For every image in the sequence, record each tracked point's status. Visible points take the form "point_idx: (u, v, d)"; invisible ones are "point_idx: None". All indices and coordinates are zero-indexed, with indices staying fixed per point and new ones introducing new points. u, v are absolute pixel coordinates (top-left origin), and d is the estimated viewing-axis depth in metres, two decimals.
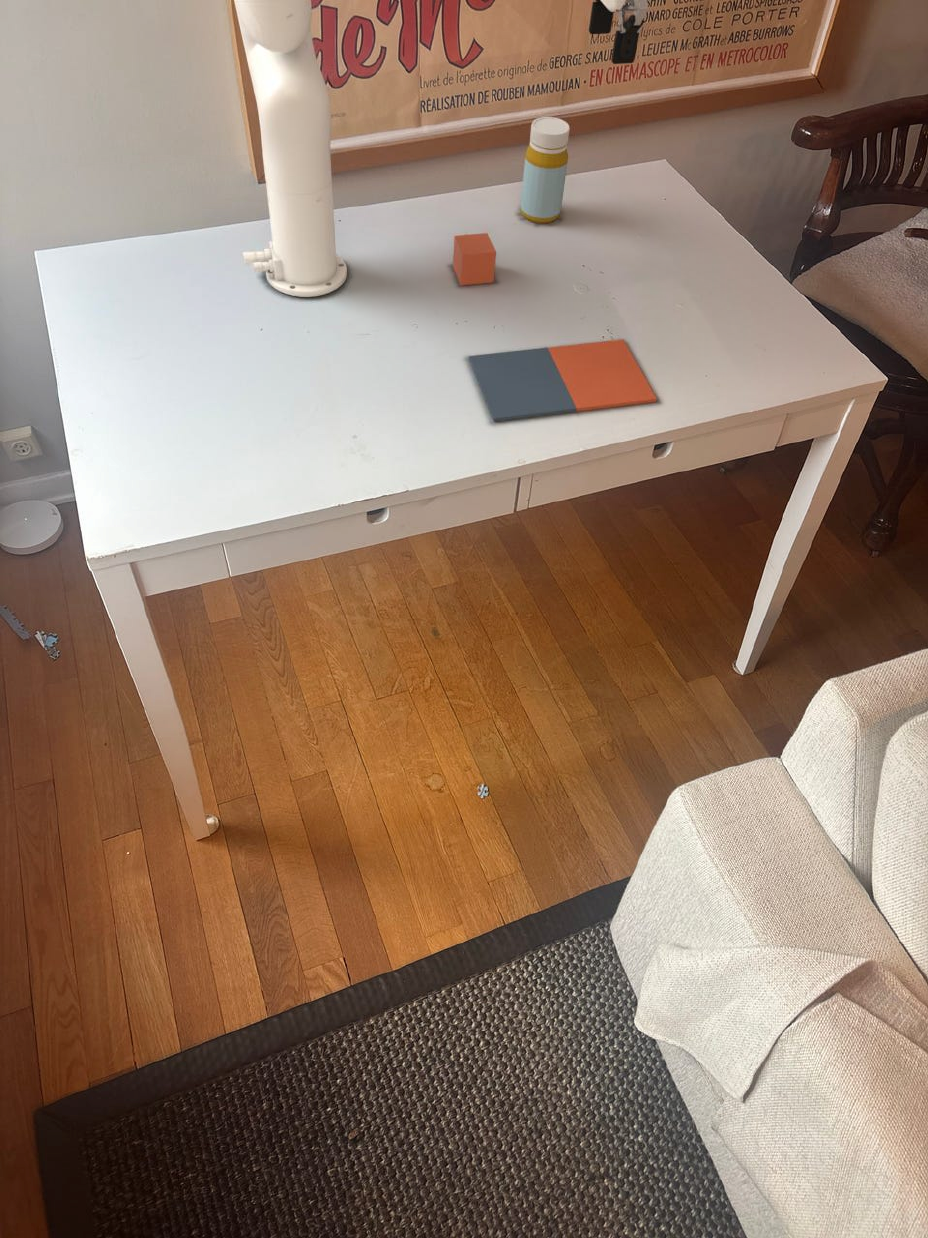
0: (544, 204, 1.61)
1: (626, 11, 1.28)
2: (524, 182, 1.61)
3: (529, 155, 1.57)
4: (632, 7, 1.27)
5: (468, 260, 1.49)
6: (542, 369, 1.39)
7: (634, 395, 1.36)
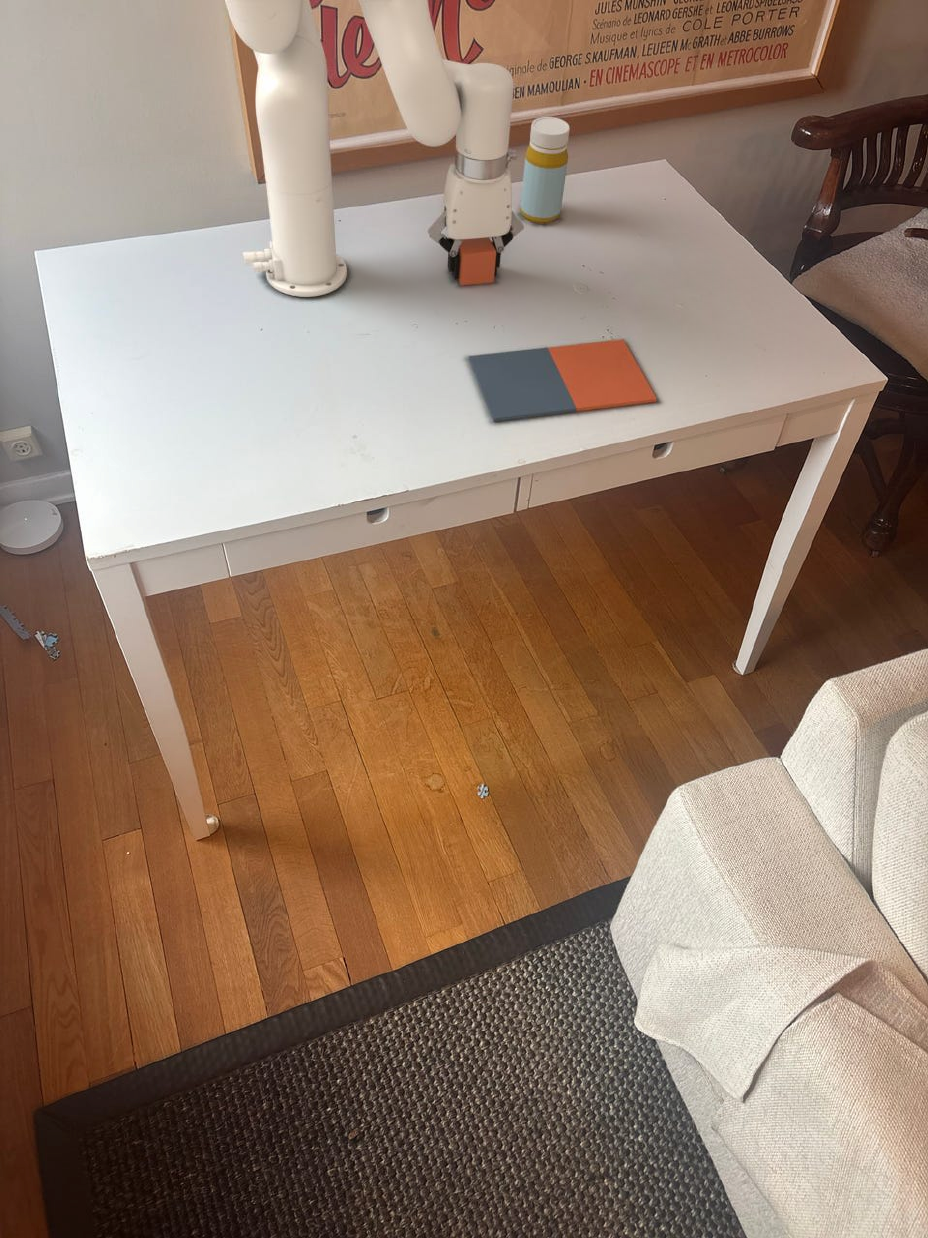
0: (544, 204, 1.61)
1: None
2: (524, 182, 1.61)
3: (529, 155, 1.57)
4: None
5: (468, 260, 1.49)
6: (542, 369, 1.39)
7: (634, 395, 1.36)
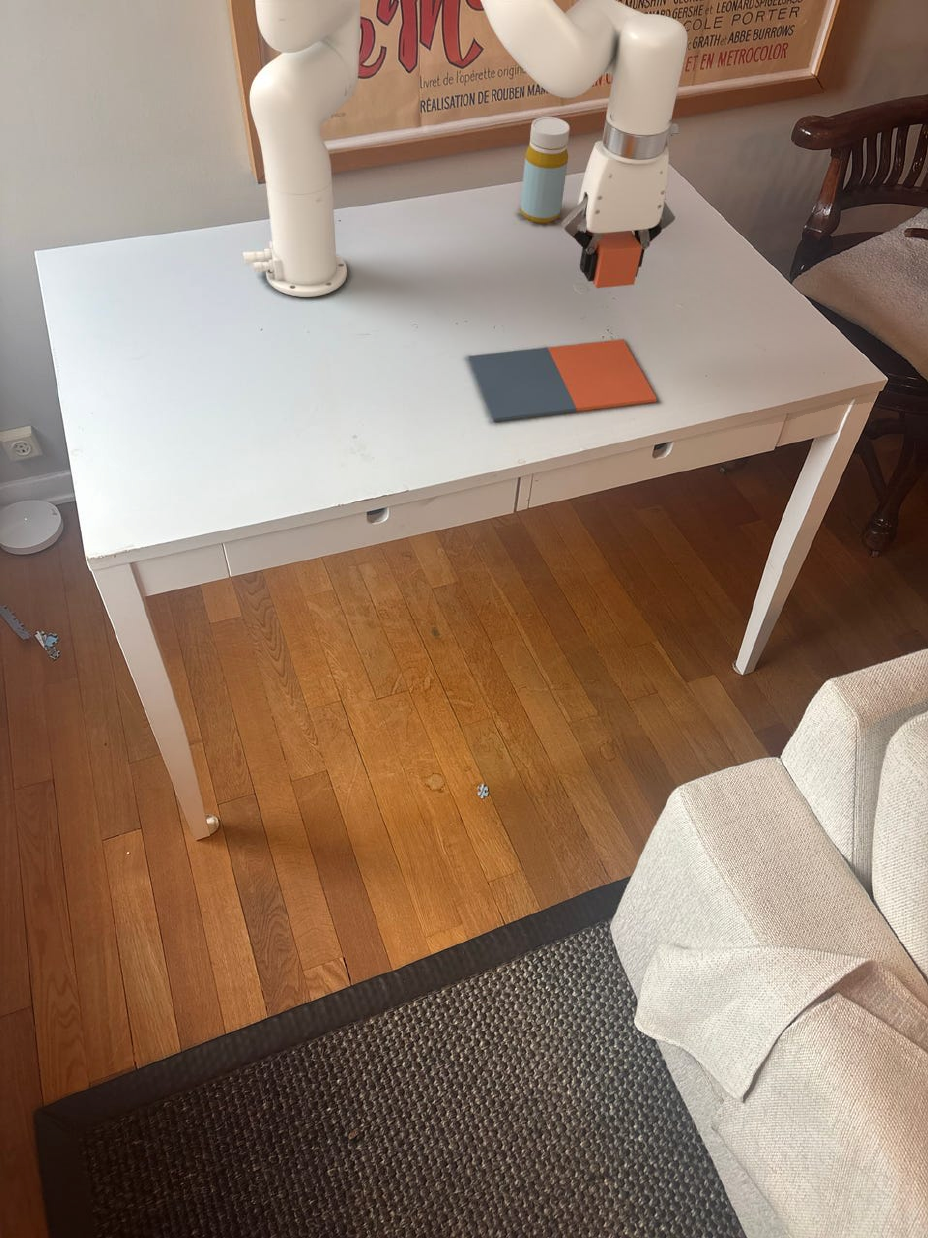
0: (544, 204, 1.61)
1: None
2: (524, 182, 1.61)
3: (529, 155, 1.57)
4: None
5: (608, 258, 1.24)
6: (542, 369, 1.39)
7: (634, 395, 1.36)
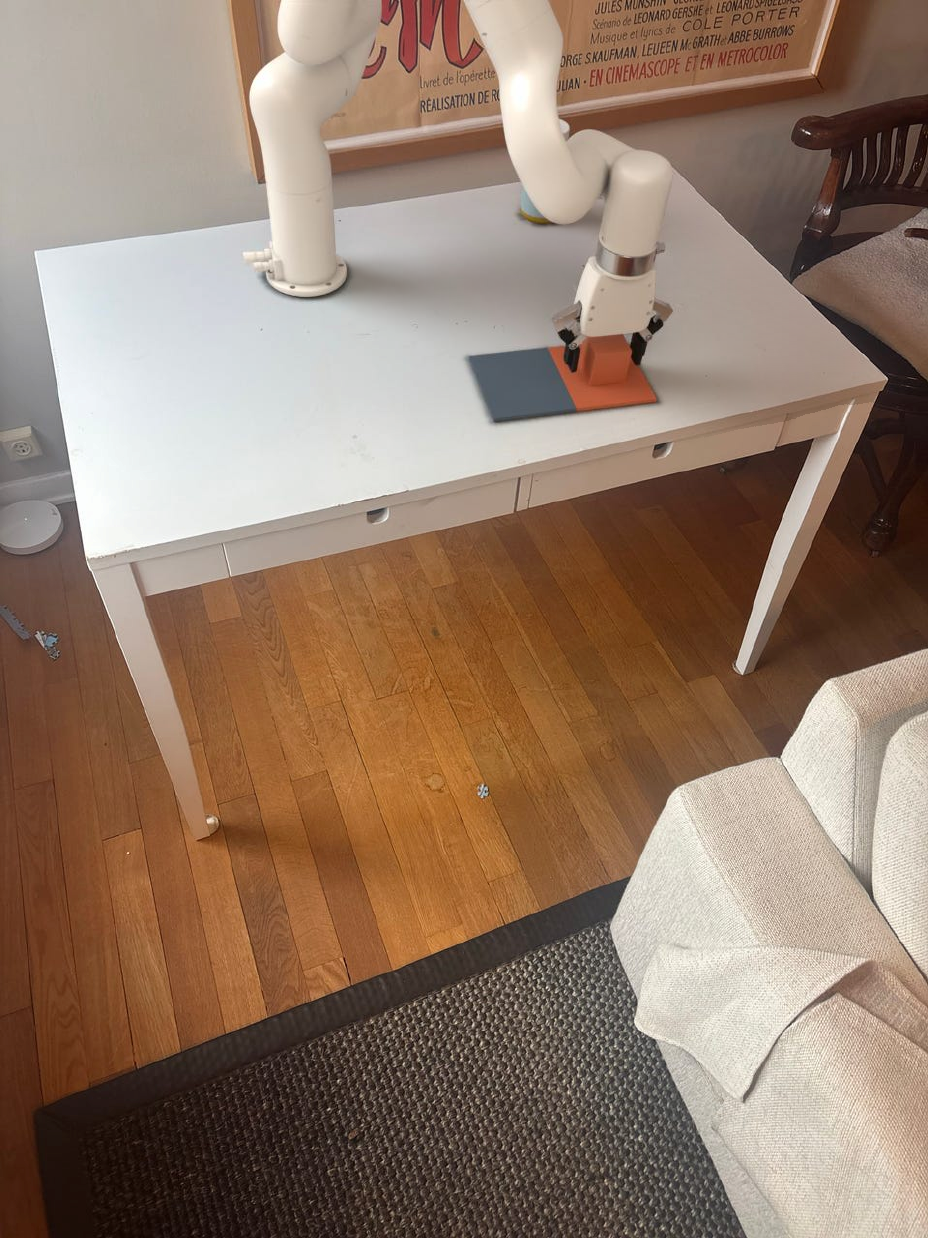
0: None
1: None
2: None
3: None
4: (579, 327, 1.32)
5: (601, 360, 1.34)
6: (542, 369, 1.39)
7: (634, 395, 1.36)
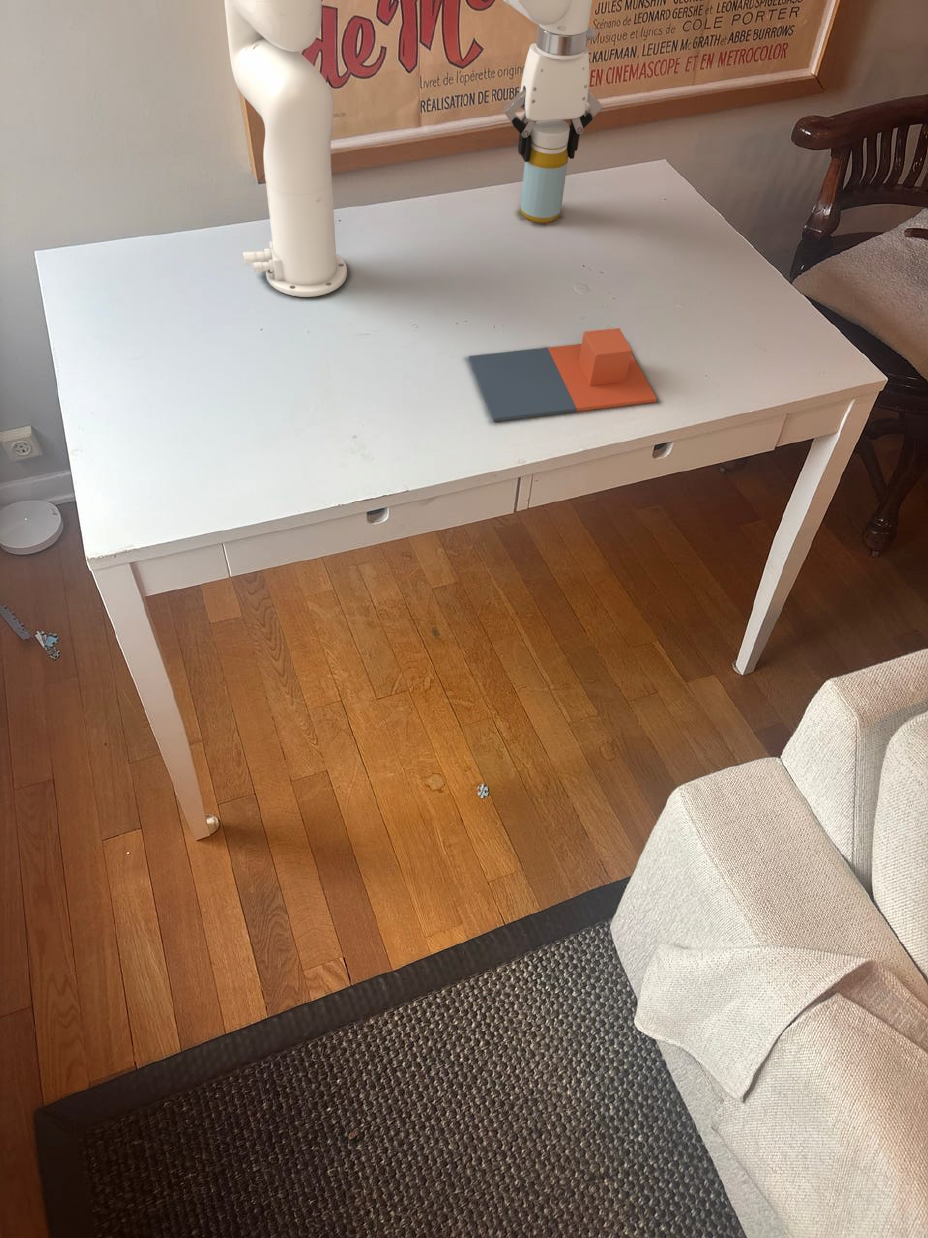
0: (544, 204, 1.61)
1: None
2: (524, 182, 1.61)
3: None
4: None
5: (601, 360, 1.34)
6: (542, 369, 1.39)
7: (634, 395, 1.36)
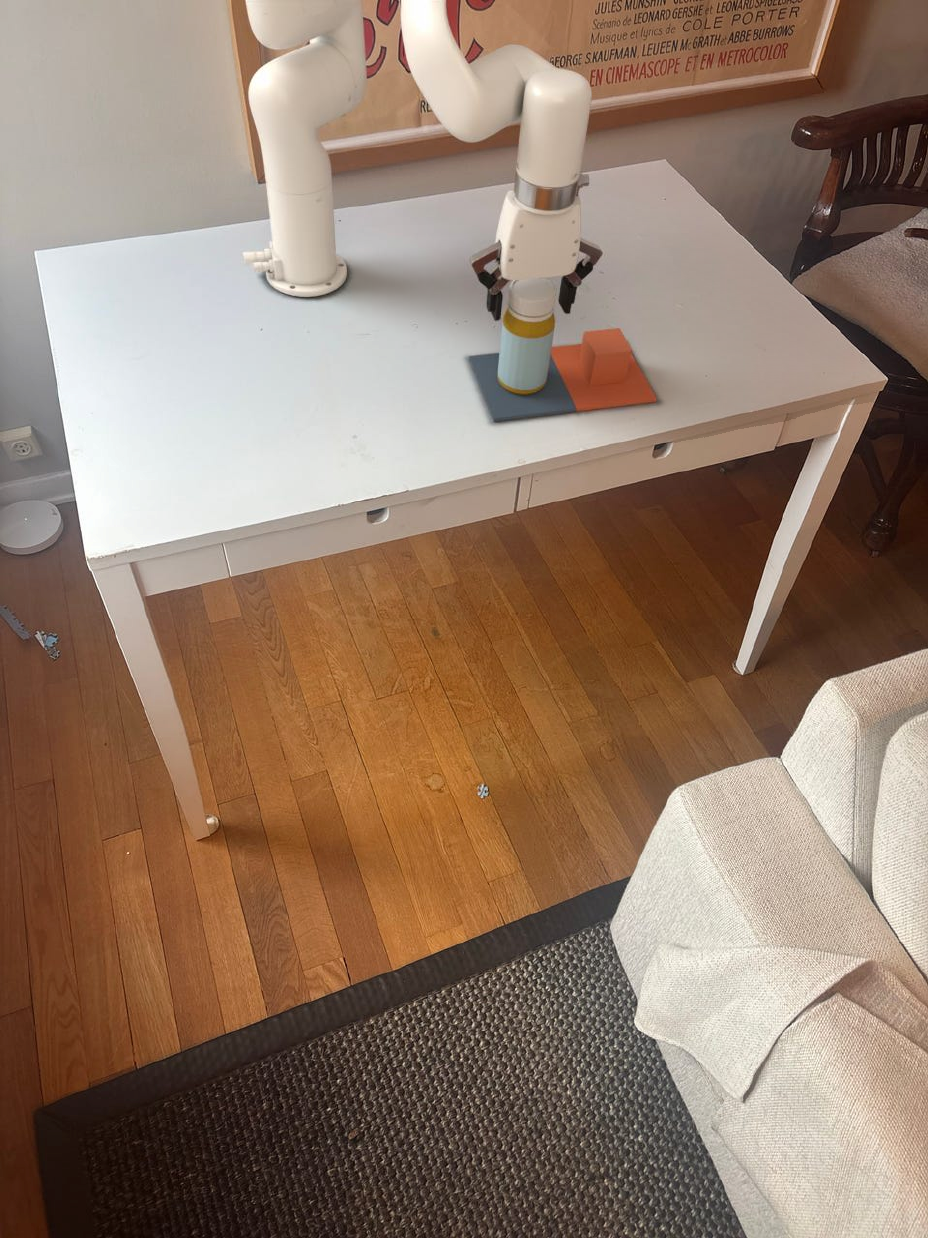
0: (526, 375, 1.32)
1: None
2: (501, 349, 1.31)
3: (507, 321, 1.27)
4: (501, 269, 1.22)
5: (601, 360, 1.34)
6: None
7: (634, 395, 1.36)
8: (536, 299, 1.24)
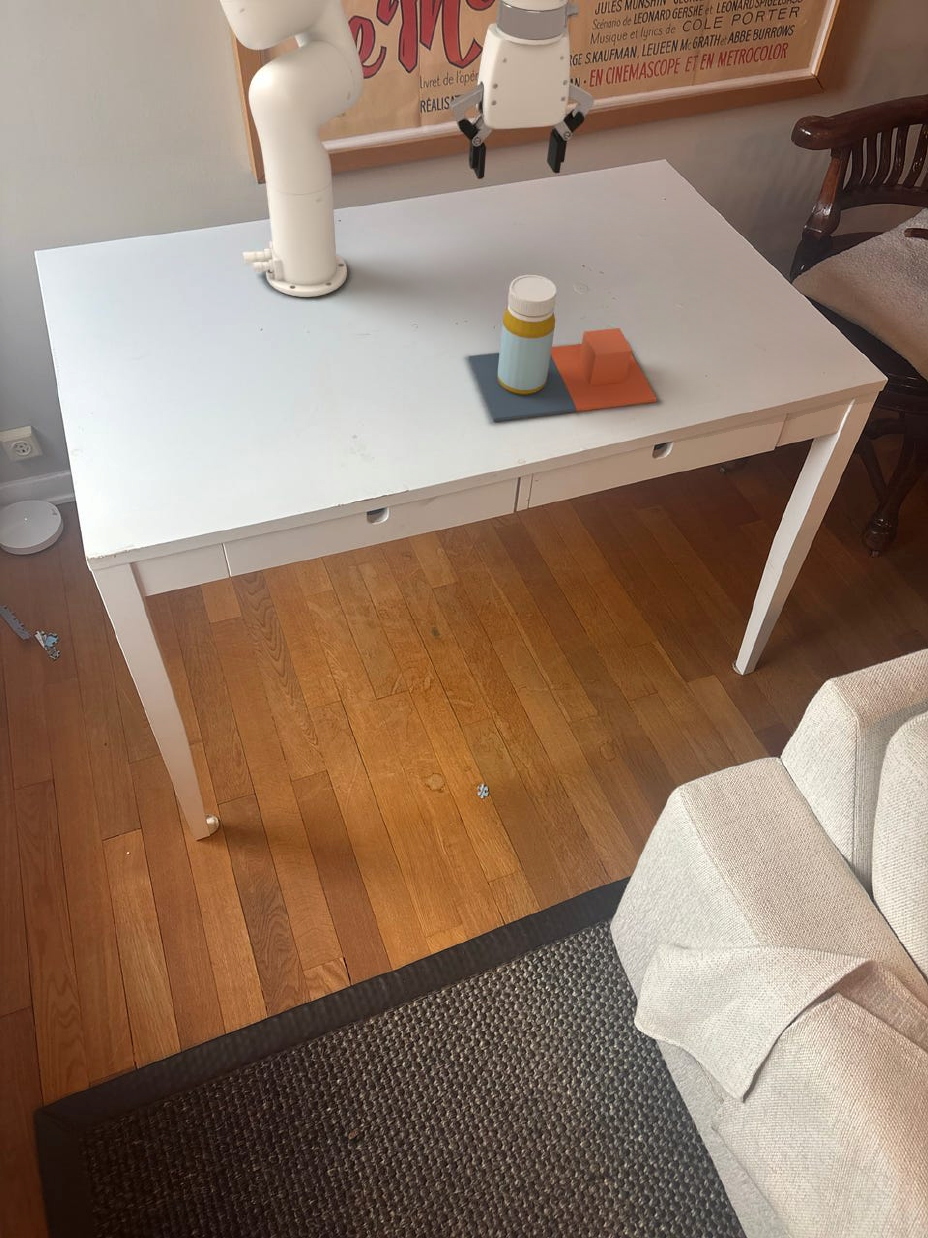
0: (526, 375, 1.32)
1: None
2: (501, 349, 1.31)
3: (507, 321, 1.27)
4: (484, 117, 1.12)
5: (601, 360, 1.34)
6: None
7: (634, 395, 1.36)
8: (536, 299, 1.24)
